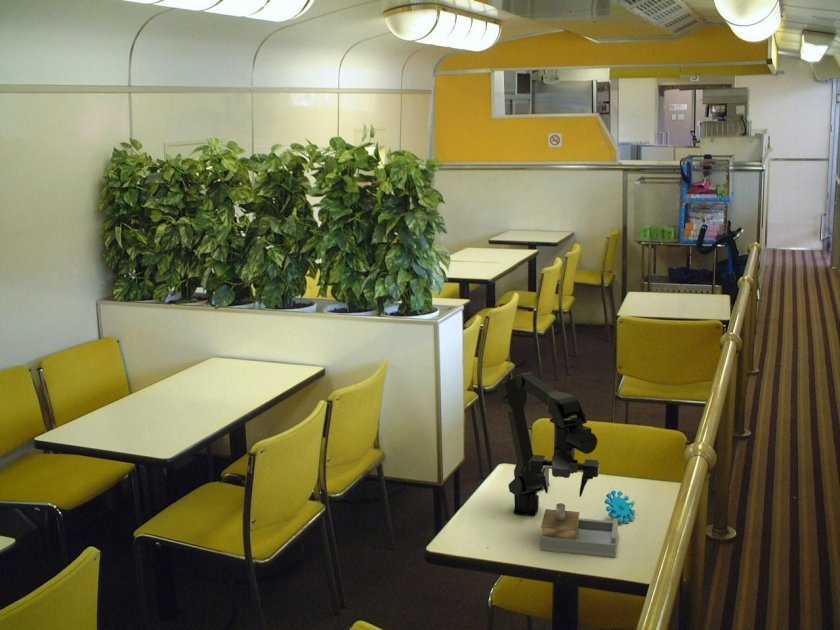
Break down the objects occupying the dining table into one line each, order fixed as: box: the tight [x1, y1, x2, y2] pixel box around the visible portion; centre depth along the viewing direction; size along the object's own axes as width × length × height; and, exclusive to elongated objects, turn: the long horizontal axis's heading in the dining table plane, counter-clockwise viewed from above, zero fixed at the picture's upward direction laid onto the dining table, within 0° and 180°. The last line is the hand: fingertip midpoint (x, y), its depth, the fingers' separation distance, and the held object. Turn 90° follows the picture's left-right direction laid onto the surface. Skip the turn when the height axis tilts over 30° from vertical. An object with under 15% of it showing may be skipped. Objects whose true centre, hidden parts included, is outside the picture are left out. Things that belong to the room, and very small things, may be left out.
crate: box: [540, 502, 580, 539], centre depth 251 cm, size 9×10×9 cm
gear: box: [603, 490, 636, 524], centre depth 264 cm, size 11×6×10 cm
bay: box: [539, 517, 619, 558], centre depth 250 cm, size 20×14×5 cm
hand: (563, 494), depth 252 cm, fingers open, 9 cm apart
